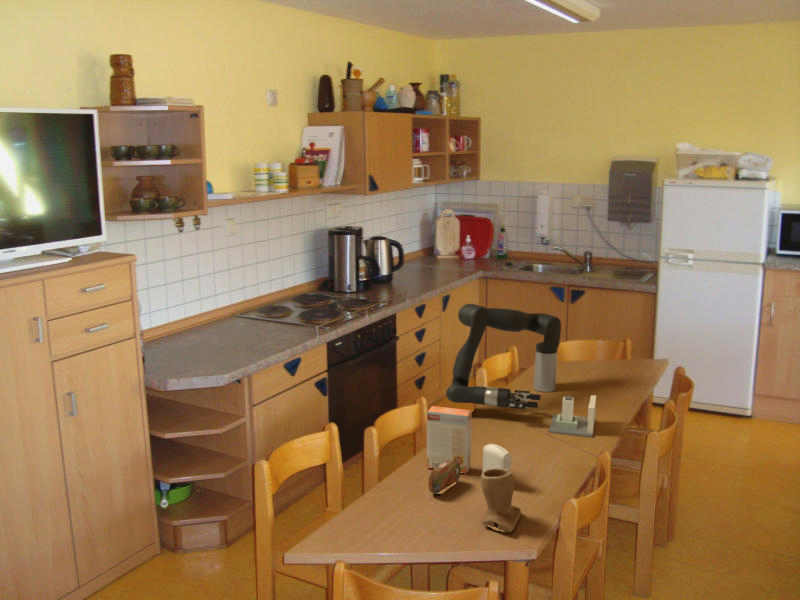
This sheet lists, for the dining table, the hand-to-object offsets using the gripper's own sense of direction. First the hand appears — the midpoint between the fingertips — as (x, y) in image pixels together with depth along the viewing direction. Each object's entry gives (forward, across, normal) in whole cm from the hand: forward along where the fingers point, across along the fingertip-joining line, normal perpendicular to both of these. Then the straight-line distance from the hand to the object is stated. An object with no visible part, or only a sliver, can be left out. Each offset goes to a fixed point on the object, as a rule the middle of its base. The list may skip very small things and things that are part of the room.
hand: (539, 401), depth 301 cm
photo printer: (-7, -55, +9) cm, 56 cm away
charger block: (+11, 0, +8) cm, 14 cm away
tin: (-22, -65, +9) cm, 69 cm away
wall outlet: (+13, 0, +9) cm, 16 cm away
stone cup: (-2, -80, +9) cm, 81 cm away
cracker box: (-24, -50, +9) cm, 56 cm away
